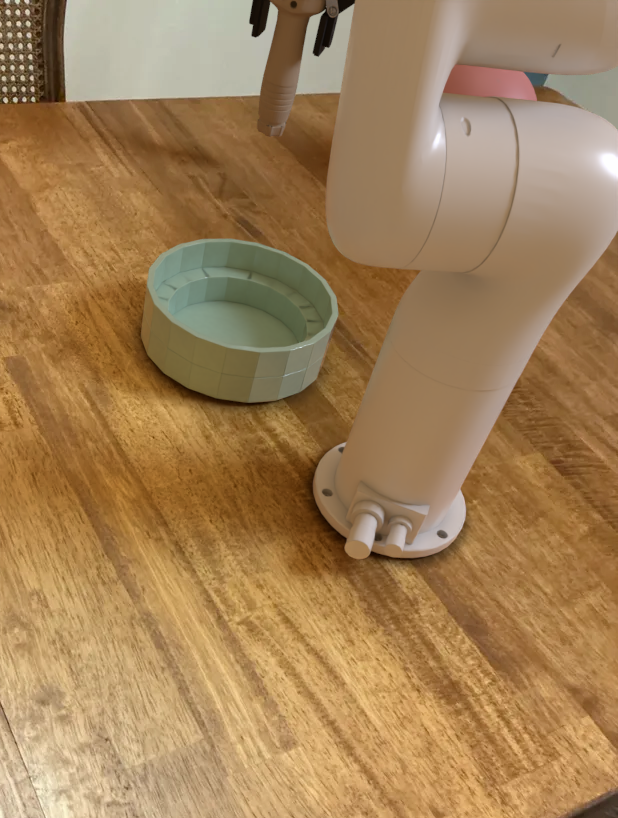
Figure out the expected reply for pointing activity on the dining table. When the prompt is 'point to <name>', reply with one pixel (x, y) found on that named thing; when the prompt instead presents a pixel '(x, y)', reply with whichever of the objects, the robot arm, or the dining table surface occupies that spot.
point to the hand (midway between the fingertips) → (288, 41)
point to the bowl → (237, 319)
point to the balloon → (489, 83)
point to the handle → (284, 63)
